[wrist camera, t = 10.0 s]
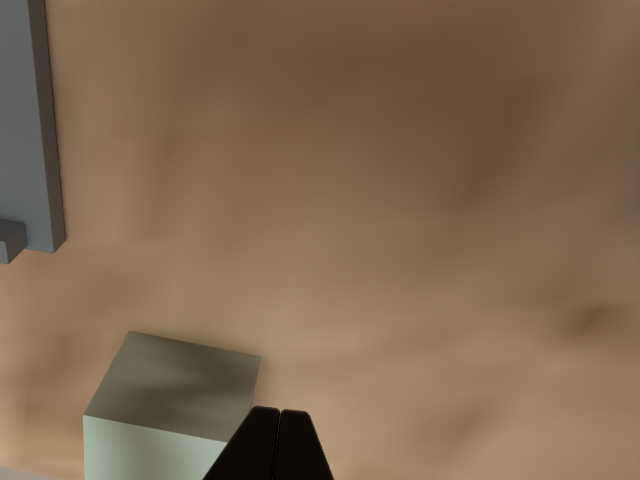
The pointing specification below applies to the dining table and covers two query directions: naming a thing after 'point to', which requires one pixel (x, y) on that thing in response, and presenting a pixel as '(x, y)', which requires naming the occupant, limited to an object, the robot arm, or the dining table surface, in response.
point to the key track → (27, 135)
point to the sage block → (165, 409)
